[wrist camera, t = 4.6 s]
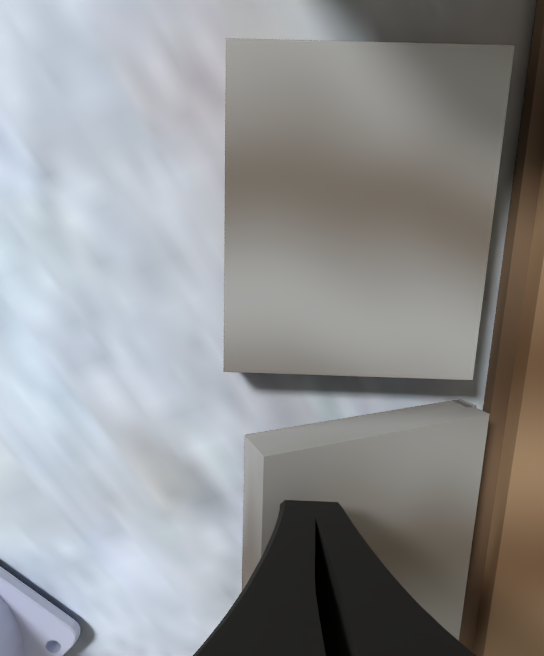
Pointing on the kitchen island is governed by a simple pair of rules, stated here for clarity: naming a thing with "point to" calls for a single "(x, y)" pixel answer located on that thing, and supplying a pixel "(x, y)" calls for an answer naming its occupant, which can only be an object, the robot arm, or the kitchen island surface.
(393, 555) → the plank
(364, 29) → the kitchen island surface
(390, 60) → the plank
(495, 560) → the board
